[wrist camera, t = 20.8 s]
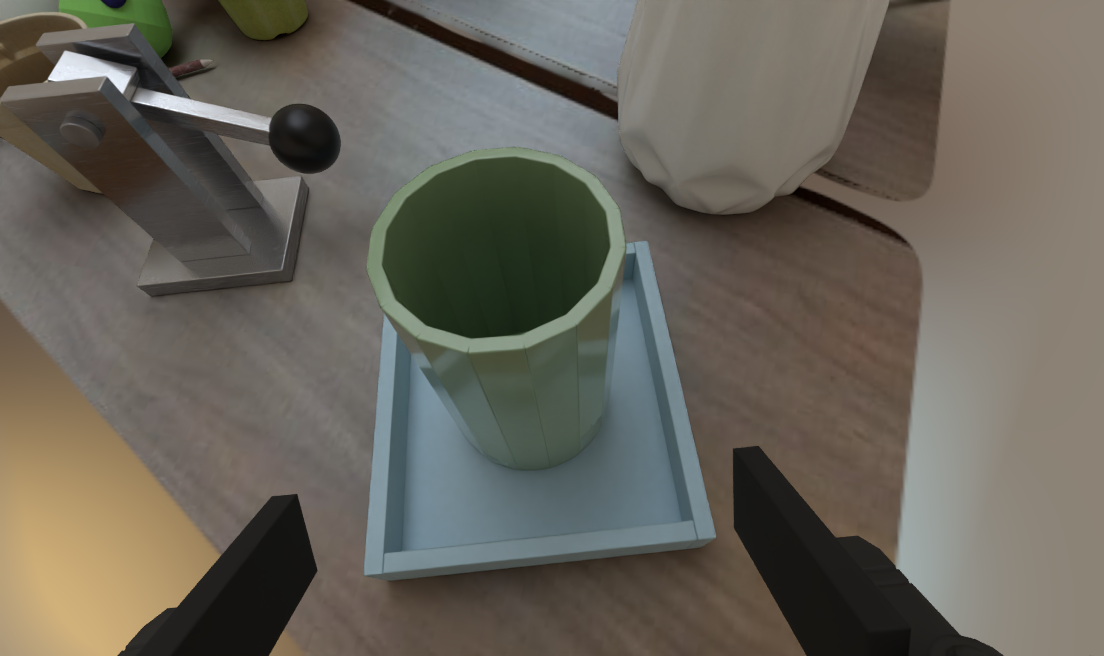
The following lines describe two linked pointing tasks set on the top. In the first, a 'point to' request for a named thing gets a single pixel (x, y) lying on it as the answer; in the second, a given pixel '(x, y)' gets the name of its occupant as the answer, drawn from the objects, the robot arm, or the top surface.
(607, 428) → the tray
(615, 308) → the cup
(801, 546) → the robot arm
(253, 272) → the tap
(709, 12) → the vase
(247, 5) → the plant pot
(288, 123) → the tap lever
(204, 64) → the pen
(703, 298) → the top surface
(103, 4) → the toy
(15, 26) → the flower pot
